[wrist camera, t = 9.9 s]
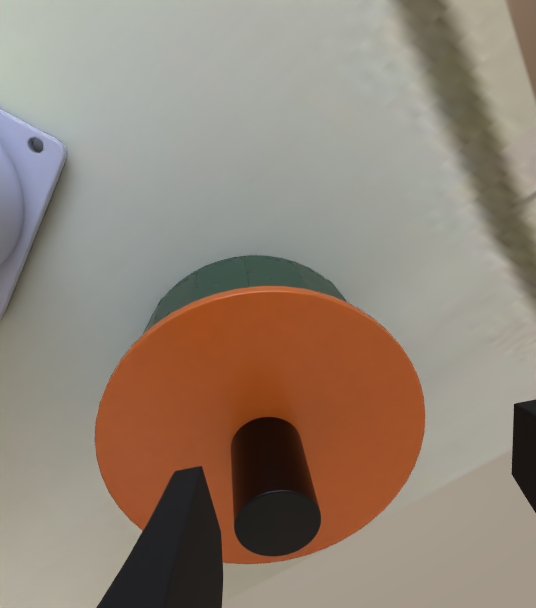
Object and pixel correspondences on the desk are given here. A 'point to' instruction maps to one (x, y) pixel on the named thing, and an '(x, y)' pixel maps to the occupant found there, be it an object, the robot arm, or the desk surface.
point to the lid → (264, 418)
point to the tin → (240, 281)
